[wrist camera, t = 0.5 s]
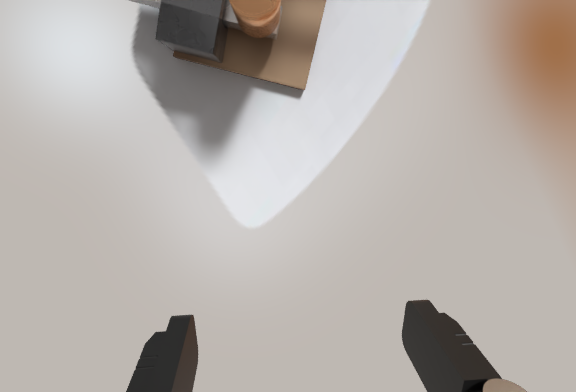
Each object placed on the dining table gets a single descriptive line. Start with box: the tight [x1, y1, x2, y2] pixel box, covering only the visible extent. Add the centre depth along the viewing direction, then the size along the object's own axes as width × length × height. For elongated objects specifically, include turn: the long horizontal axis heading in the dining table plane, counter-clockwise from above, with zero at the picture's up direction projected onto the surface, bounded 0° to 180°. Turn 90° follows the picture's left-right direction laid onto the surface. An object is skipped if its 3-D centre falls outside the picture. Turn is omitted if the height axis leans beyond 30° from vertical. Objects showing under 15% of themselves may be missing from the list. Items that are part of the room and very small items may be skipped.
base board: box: [173, 0, 326, 90], centre depth 35 cm, size 10×14×1 cm
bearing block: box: [156, 0, 229, 63], centre depth 31 cm, size 9×5×6 cm, turn 167°
